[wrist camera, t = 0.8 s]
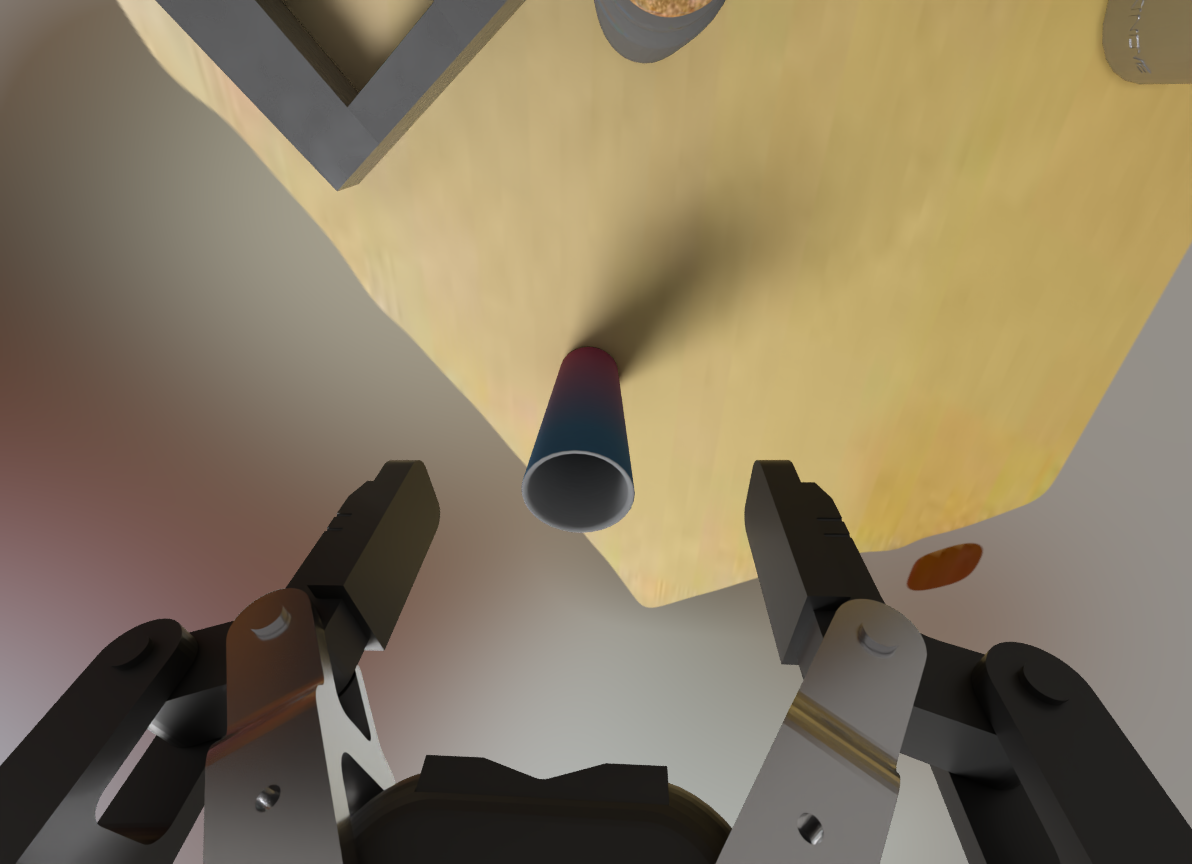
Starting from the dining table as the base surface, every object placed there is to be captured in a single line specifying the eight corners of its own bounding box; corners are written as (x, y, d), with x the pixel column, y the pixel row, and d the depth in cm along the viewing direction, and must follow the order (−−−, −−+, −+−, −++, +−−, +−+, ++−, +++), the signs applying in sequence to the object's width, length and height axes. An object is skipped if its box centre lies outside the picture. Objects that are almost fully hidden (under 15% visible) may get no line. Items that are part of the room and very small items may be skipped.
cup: (645, 371, 39) (658, 493, 27) (591, 418, 43) (582, 547, 30) (585, 320, 37) (571, 429, 25) (533, 374, 40) (498, 495, 28)
